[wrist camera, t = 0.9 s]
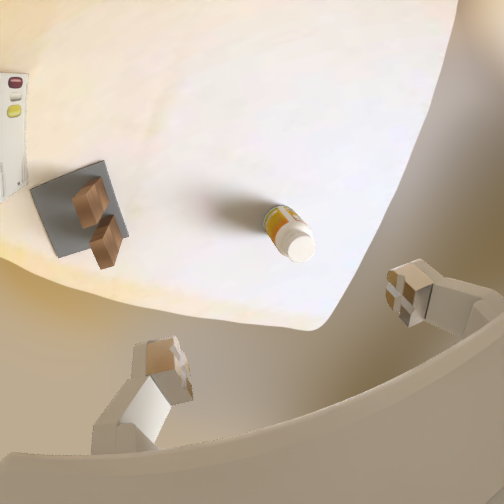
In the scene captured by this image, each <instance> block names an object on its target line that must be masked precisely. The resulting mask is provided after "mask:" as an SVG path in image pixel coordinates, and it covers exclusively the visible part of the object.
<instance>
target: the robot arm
mask: <svg viewBox="0 0 504 504" xmlns="http://www.w3.org/2000/svg"><path fill="white" fill-rule="evenodd" d="M387 280H388V281H389V282H390V283H389V284H388V286H387V288H386V299H387V302H388V304H389V306H390V307H391V308H392V310H394V311H396V312H399V318H400V319H401V320H402V321H403V322H404V323H405V324H406V325H407V327H411V326H413V325H415V324H418V323H420V322H422V321H424V320H425V322H428V323H430V324H432V325H434V326H436V327H438V328H441V329H443V330H445V331H447V332H449V333H451V334H453V335H455V336H458V337H460V338H461V341H460V342H459V343H457V344H455V345H454V346H452V347H450V348H449V349H447V350H445V351H444V352H442V353H440V354H438V355H437V356H435V357H433V358H432V359H430V360H428V361H426V362H424V363H422V364H421V365H419V366H417V367H415V368H413V369H411V370H409V371H407V372H406V373H403V374H401V375H399V376H397V377H396V378H393V379H391V380H389V381H387V382H385V383H383V384H381V385H379V386H377V387H374V388H372V389H370V390H368V391H365V392H363V393H361V394H359V395H356V396H354V397H351V398H349V399H347V400H344V401H341V402H339V403H337V404H334V405H331V406H329V407H326V408H323V409H321V410H318V411H315V412H312V413H309V414H307V415H303V416H301V417H298V418H295V419H291V420H288V421H285V422H282V423H279V424H275V425H272V426H269V427H265V428H261V429H258V430H254V431H251V432H246V433H243V434H239V435H235V436H231V437H226V438H222V439H217V440H213V441H207V442H202V443H197V444H191V445H186V446H180V447H173V448H166V449H159V448H158V447H157V446H156V445H155V444H154V442H155V440H156V438H157V436H158V434H159V431H160V429H161V427H162V425H163V423H164V421H165V419H166V417H167V415H168V413H169V411H170V409H171V405H176V404H180V403H184V402H189V401H193V393H192V385H191V383H190V382H189V380H188V379H189V378H190V376H191V375H190V368H189V364H188V361H187V358H186V356H185V353H184V352H183V351H182V350H180V345H179V341H178V339H177V338H176V336H170V337H166V338H161V339H156V340H152V341H148V342H144V343H138V344H135V346H134V349H133V361H132V373H131V379H128V380H127V381H126V382H125V383H124V385H123V386H122V387H121V389H120V390H119V391H118V393H117V394H116V395H115V397H114V398H113V399H112V401H111V402H110V404H109V405H108V406H107V408H106V409H105V410H104V412H103V413H102V414H101V416H100V417H99V418H98V420H97V421H96V422H95V424H94V425H93V433H92V444H91V455H41V454H28V453H17V452H14V453H9V454H8V455H7V456H6V457H5V458H3V460H2V461H1V462H0V504H504V298H503V297H502V296H501V295H500V294H498V293H497V292H496V291H495V290H493V289H489V288H485V287H482V286H478V285H475V284H471V283H467V282H463V281H460V280H456V279H452V278H449V277H447V278H444V277H443V276H442V275H441V274H439V273H438V272H437V271H436V270H434V269H433V268H432V267H431V266H430V265H428V264H427V263H426V262H425V261H423V260H422V259H417V260H414V261H412V262H409V263H408V264H404V265H402V266H399V267H397V268H394V269H392V270H389V272H388V274H387Z"/></svg>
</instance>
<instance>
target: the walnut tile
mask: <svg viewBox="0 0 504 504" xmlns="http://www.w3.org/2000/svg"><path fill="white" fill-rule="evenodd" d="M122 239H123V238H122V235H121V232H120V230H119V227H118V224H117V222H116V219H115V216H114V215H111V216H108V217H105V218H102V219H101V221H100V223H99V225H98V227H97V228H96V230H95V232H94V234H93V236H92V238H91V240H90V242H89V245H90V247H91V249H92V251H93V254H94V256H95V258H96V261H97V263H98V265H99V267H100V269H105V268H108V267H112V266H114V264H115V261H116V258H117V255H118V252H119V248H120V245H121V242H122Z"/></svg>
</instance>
